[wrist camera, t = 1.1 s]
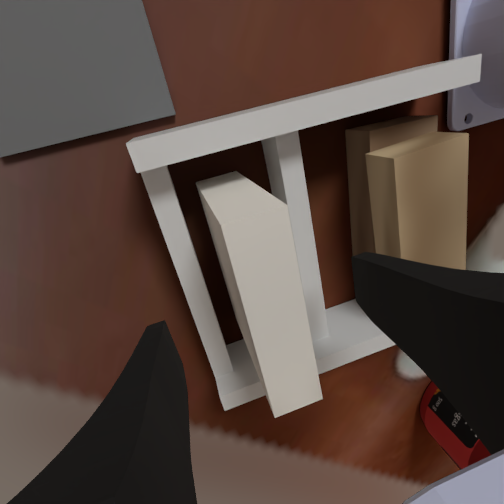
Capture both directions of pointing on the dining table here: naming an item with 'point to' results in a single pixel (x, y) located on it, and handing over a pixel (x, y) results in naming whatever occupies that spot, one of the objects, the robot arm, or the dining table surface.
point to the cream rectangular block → (263, 286)
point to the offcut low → (356, 148)
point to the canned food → (450, 429)
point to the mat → (76, 71)
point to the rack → (291, 193)
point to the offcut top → (421, 198)
